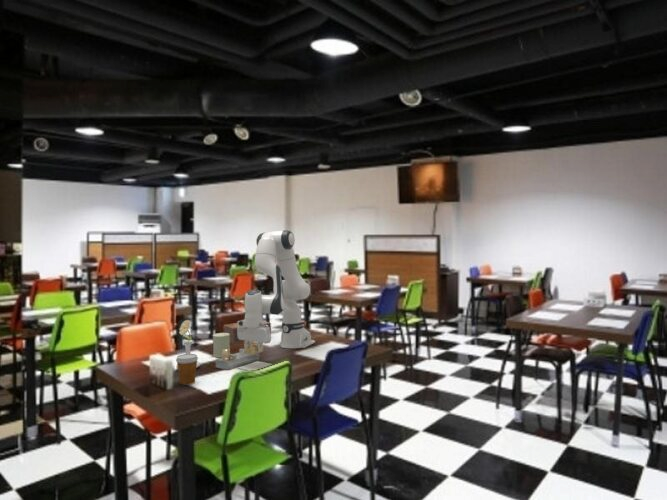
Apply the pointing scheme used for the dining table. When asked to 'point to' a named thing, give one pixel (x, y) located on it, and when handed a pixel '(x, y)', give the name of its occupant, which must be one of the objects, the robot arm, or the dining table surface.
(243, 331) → the robot arm
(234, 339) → the tissue box cover
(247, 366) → the mat
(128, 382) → the dining table surface
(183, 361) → the disposable coffee cup
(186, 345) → the flower in vase
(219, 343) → the can
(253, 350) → the lever cap
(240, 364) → the hand plane
